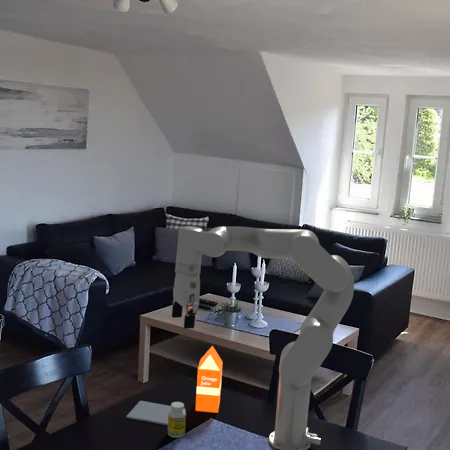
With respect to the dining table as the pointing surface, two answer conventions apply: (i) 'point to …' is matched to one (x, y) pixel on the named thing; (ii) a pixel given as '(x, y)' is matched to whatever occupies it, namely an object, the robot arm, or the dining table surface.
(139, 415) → the felt mat
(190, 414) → the dining table surface
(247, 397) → the dining table surface
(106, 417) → the dining table surface
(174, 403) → the supplement bottle
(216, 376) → the orange juice
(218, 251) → the robot arm
